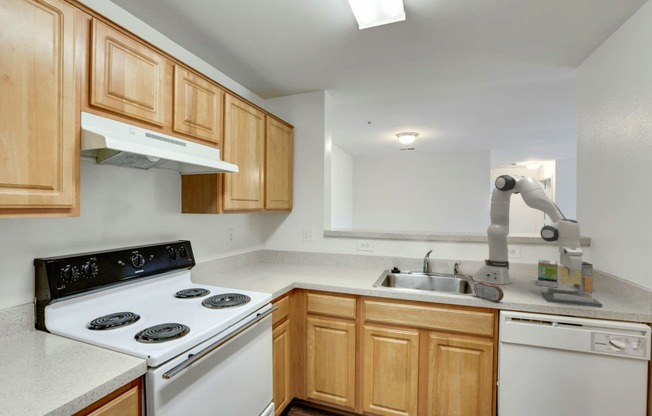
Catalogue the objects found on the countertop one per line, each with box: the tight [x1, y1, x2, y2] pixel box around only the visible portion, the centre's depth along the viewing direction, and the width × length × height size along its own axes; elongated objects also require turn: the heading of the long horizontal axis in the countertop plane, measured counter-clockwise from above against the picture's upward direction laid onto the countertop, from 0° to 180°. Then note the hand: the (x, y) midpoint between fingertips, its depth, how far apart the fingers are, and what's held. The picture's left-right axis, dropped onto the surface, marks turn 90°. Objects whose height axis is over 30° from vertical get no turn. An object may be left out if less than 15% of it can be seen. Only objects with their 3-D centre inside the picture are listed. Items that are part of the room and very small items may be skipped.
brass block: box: [558, 266, 581, 285], centre depth 156 cm, size 4×8×8 cm, turn 66°
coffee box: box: [573, 261, 594, 293], centre depth 178 cm, size 9×6×16 cm
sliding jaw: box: [546, 276, 593, 297], centre depth 161 cm, size 19×2×10 cm, turn 66°
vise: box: [540, 291, 603, 308], centre depth 156 cm, size 22×14×4 cm, turn 66°
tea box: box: [537, 259, 559, 289], centre depth 190 cm, size 15×10×15 cm, turn 143°
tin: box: [473, 282, 504, 303], centre depth 158 cm, size 15×3×8 cm, turn 30°
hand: (570, 276), depth 156 cm, fingers closed on brass block, 4 cm apart
